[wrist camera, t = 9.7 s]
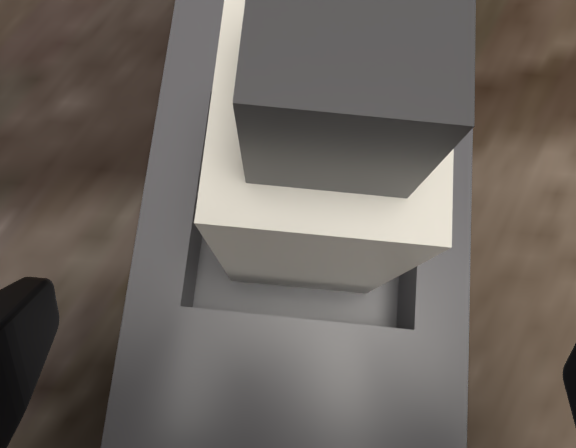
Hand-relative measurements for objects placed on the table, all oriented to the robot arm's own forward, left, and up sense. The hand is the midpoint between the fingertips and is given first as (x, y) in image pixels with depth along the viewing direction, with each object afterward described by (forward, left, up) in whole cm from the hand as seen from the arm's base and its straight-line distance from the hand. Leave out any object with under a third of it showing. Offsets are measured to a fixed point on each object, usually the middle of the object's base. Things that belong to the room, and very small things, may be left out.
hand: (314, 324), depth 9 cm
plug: (+3, +3, -10) cm, 11 cm away
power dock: (+3, +3, -11) cm, 12 cm away
